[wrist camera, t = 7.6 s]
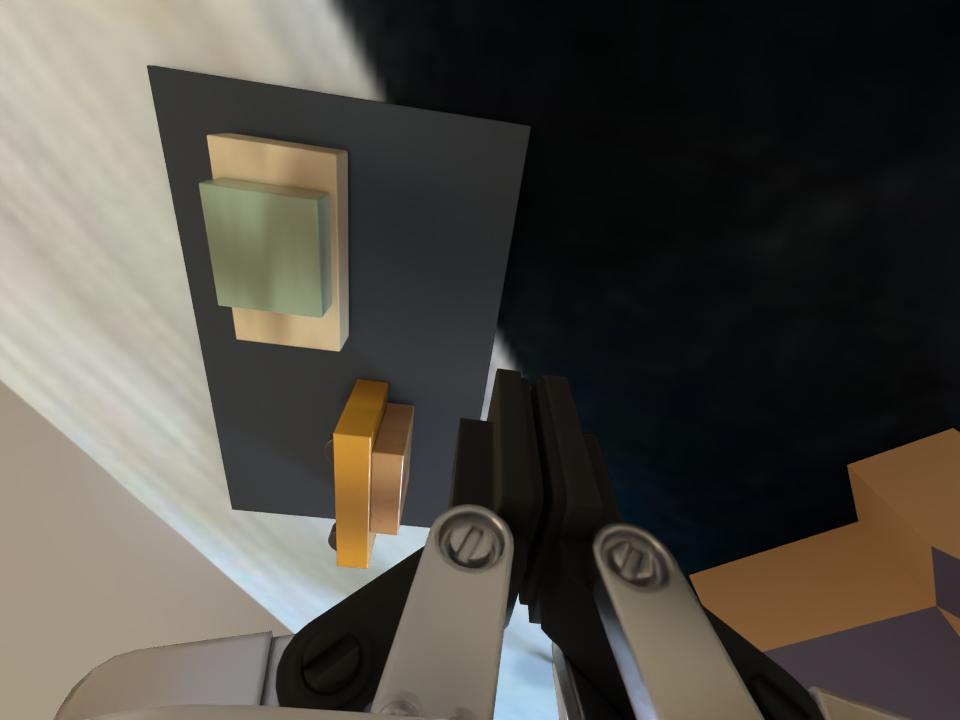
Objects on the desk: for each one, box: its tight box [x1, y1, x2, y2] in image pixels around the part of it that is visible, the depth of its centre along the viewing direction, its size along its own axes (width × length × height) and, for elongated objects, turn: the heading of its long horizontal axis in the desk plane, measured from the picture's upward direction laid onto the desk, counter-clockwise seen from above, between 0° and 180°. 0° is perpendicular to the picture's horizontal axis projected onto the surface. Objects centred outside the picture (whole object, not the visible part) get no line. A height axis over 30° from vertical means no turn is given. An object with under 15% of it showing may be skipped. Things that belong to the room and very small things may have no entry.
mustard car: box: [325, 379, 414, 569], centre depth 26 cm, size 10×4×5 cm, turn 172°
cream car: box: [199, 133, 349, 351], centre depth 20 cm, size 9×4×5 cm
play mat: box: [147, 65, 531, 528], centre depth 25 cm, size 26×16×1 cm, turn 172°
